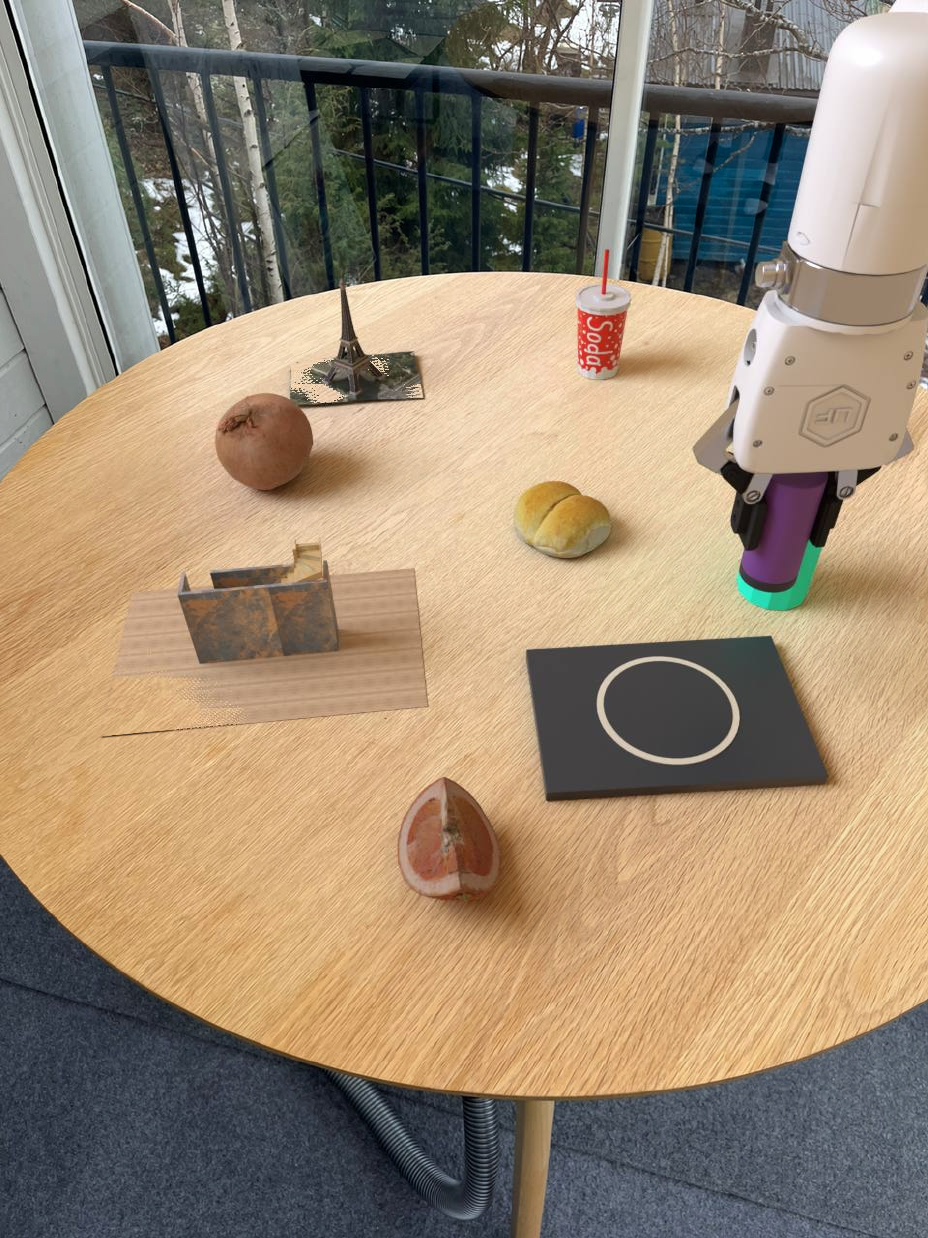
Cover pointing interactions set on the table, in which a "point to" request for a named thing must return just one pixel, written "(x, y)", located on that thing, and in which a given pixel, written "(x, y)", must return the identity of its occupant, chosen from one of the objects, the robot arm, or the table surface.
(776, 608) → the candle
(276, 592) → the ruin model on sheet
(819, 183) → the robot arm
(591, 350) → the beverage cup
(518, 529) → the bread roll
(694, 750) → the sketch board
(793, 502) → the dot marker
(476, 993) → the table surface
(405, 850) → the fruit slice
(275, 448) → the onion
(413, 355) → the eiffel tower figurine
